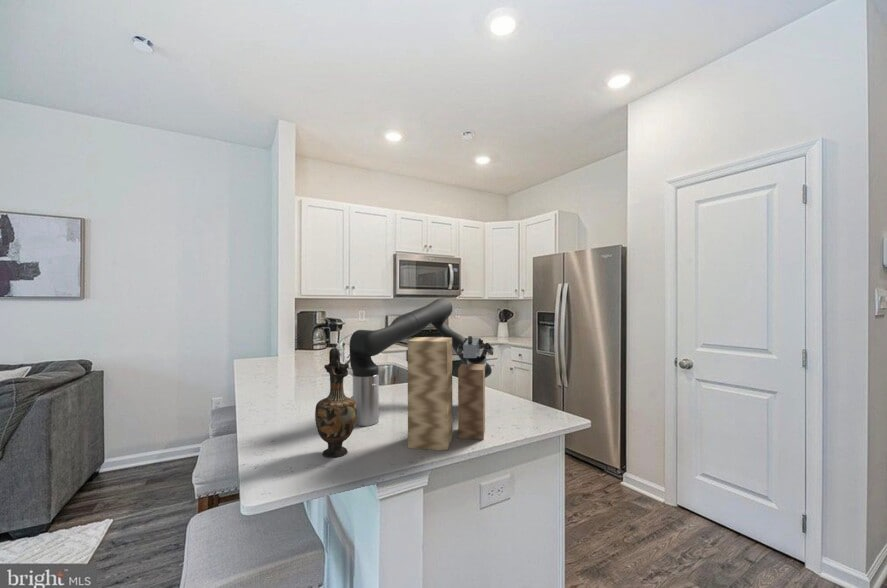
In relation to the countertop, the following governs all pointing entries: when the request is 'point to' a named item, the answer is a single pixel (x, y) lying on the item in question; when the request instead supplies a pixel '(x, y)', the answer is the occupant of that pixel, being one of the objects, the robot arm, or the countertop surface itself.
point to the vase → (335, 409)
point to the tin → (471, 347)
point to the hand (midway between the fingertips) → (473, 341)
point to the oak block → (430, 393)
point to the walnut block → (471, 401)
